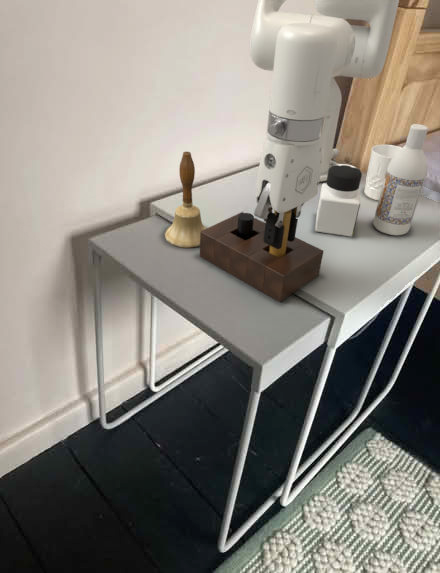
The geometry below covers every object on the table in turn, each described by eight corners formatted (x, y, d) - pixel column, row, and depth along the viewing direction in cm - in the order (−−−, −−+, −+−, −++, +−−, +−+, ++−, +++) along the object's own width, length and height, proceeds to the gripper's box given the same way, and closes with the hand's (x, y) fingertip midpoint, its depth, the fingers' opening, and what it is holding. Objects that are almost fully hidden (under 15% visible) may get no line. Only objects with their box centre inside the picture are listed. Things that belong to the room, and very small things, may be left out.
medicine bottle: (352, 237, 94) (366, 178, 87) (314, 232, 95) (325, 173, 88) (352, 220, 100) (365, 163, 93) (316, 215, 101) (326, 158, 93)
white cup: (354, 194, 110) (365, 150, 104) (371, 184, 114) (382, 141, 108) (387, 206, 105) (400, 161, 100) (403, 195, 110) (416, 151, 104)
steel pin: (253, 257, 87) (257, 216, 82) (243, 262, 85) (247, 221, 80) (241, 251, 88) (245, 211, 83) (232, 256, 86) (235, 215, 82)
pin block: (199, 256, 86) (200, 231, 83) (239, 235, 92) (241, 211, 89) (279, 302, 77) (284, 276, 74) (318, 275, 83) (324, 250, 80)
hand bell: (183, 253, 87) (184, 166, 77) (155, 233, 91) (153, 150, 82) (219, 238, 91) (223, 155, 82) (190, 220, 96) (192, 140, 87)
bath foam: (377, 215, 102) (403, 117, 90) (411, 225, 99) (443, 125, 87) (368, 229, 97) (394, 127, 85) (404, 240, 94) (436, 136, 82)
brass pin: (288, 254, 80) (295, 210, 75) (278, 260, 79) (284, 215, 74) (275, 248, 82) (281, 204, 77) (265, 254, 80) (271, 209, 75)
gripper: (280, 146, 61) (264, 270, 72) (349, 121, 71) (327, 233, 82) (235, 130, 65) (226, 250, 76) (306, 108, 75) (290, 217, 86)
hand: (279, 240), depth 79 cm, fingers closed on brass pin, 2 cm apart
